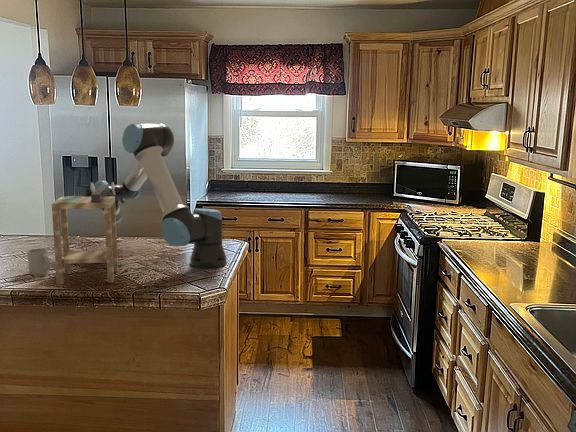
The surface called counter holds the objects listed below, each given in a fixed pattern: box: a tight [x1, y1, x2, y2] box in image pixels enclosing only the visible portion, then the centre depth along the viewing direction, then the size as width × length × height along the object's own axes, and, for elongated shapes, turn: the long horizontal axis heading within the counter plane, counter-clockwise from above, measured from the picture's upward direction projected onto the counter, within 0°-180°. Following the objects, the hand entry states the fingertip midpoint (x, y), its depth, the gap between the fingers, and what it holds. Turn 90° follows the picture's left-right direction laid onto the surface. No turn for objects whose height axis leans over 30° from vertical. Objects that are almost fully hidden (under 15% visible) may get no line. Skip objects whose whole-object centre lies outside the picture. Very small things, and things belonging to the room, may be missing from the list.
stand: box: [51, 195, 119, 285], centre depth 218 cm, size 20×16×30 cm
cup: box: [27, 248, 51, 276], centre depth 225 cm, size 7×10×9 cm
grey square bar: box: [91, 184, 110, 203], centre depth 222 cm, size 3×26×3 cm, turn 10°
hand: (102, 185), depth 226 cm, fingers open, 7 cm apart
